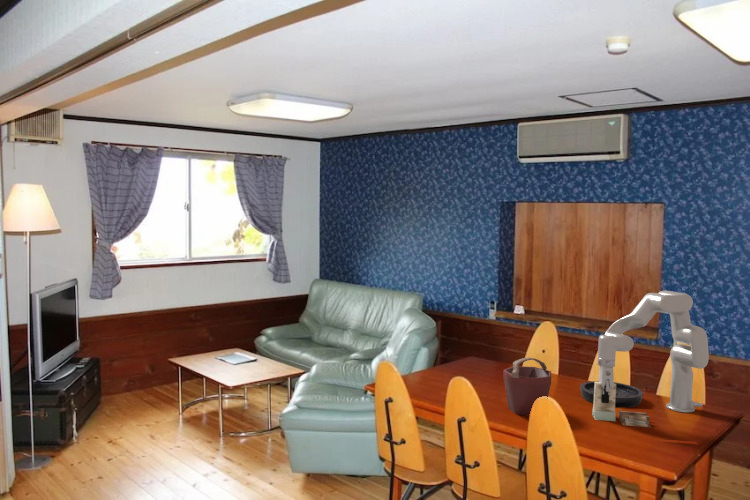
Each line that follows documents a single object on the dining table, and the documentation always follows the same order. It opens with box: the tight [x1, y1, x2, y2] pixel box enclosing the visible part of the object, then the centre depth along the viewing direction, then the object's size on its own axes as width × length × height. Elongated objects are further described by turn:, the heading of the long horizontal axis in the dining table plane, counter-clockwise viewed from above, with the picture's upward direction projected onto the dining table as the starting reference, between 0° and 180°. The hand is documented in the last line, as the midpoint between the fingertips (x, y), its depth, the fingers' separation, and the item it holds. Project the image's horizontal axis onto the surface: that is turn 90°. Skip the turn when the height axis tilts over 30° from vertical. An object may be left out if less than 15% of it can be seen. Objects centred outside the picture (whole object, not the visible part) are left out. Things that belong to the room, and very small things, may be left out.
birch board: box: [592, 382, 616, 413], centre depth 288 cm, size 9×2×14 cm, turn 80°
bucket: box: [502, 357, 552, 417], centre depth 299 cm, size 24×22×25 cm
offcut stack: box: [625, 416, 649, 428], centre depth 279 cm, size 9×3×3 cm, turn 80°
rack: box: [617, 410, 652, 428], centre depth 282 cm, size 12×10×4 cm
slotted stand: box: [591, 410, 617, 422], centre depth 288 cm, size 9×8×4 cm
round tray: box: [579, 380, 644, 408], centre depth 320 cm, size 30×6×30 cm
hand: (604, 401), depth 288 cm, fingers closed on birch board, 2 cm apart
